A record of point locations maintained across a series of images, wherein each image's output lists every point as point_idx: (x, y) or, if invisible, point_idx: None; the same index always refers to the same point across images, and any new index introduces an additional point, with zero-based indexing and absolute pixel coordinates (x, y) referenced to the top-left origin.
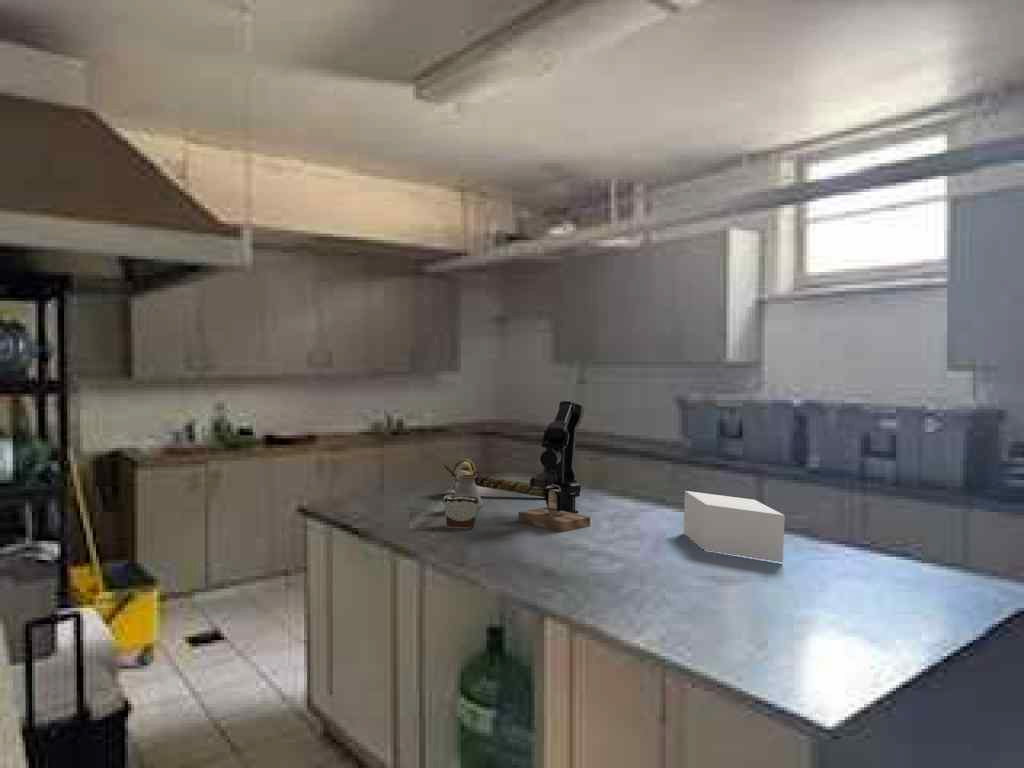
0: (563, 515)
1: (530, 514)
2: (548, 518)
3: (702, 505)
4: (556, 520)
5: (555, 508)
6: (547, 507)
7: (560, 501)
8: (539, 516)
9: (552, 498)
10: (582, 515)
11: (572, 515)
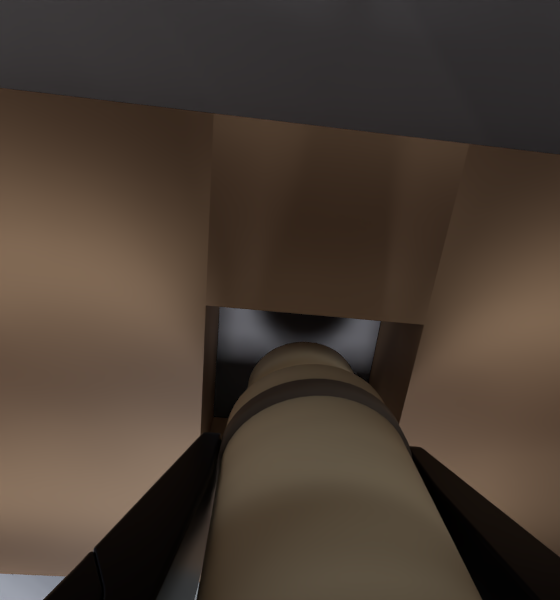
0: None
1: (556, 189)
2: (199, 171)
3: None
4: (24, 149)
5: (238, 431)
6: None
7: (80, 584)
8: (381, 183)
9: (298, 593)
10: None
11: None
